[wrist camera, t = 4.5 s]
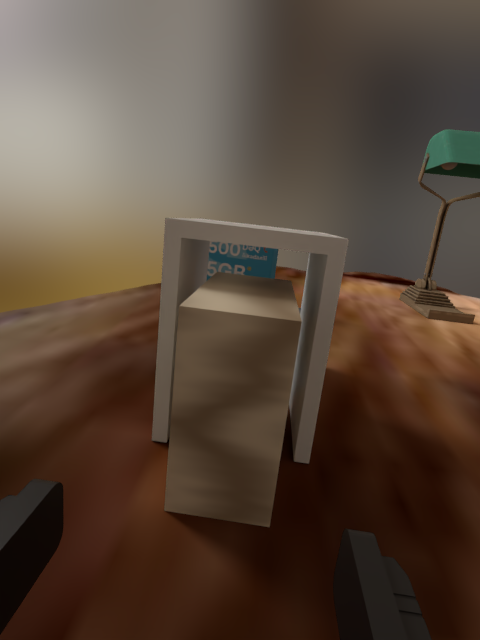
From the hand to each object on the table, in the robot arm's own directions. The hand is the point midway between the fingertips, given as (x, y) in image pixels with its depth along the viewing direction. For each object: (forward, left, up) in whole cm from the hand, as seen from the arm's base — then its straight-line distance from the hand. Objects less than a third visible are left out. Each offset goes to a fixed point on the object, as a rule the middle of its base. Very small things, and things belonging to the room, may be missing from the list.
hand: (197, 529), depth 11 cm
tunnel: (+13, +14, -7) cm, 20 cm away
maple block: (+9, +10, -7) cm, 15 cm away
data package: (+36, +46, -7) cm, 59 cm away
